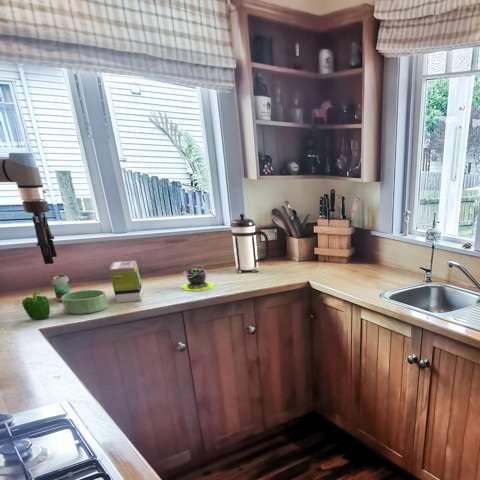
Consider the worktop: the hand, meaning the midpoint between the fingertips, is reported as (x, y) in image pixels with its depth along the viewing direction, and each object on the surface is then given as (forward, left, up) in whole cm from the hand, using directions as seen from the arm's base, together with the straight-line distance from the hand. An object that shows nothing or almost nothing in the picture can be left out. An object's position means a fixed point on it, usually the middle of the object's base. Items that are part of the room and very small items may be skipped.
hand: (51, 260), depth 175 cm
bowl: (+6, +6, -21) cm, 23 cm away
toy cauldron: (+44, +38, -21) cm, 61 cm away
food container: (-9, +23, -21) cm, 33 cm away
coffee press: (+66, +71, -21) cm, 99 cm away
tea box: (+18, +22, -21) cm, 35 cm away
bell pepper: (-7, -4, -21) cm, 23 cm away
